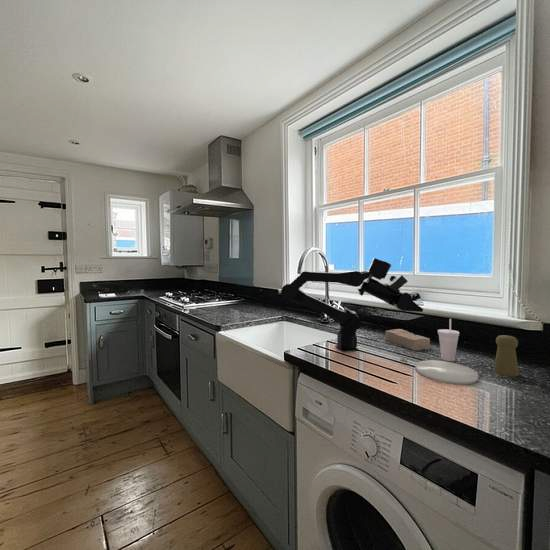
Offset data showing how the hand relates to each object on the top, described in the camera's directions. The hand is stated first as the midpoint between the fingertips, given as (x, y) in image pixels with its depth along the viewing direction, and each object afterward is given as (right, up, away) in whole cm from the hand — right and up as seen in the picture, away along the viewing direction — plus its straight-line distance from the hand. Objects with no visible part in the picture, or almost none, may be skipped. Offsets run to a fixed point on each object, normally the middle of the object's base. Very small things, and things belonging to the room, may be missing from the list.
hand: (417, 308), depth 108 cm
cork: (+16, -17, -21) cm, 31 cm away
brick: (+1, -16, +10) cm, 19 cm away
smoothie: (+6, -16, -9) cm, 20 cm away
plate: (-2, -17, -22) cm, 27 cm away
